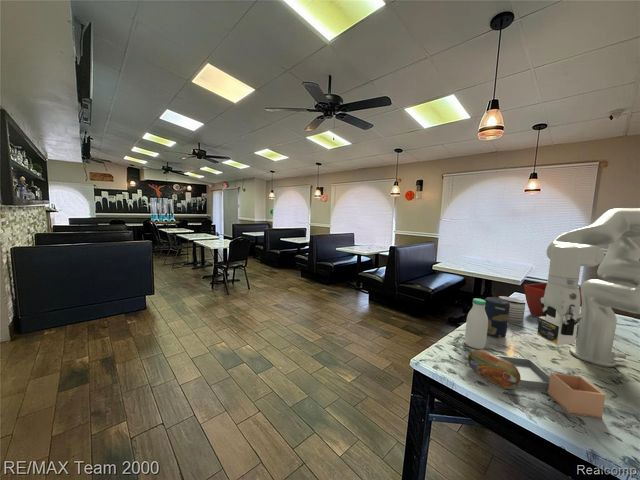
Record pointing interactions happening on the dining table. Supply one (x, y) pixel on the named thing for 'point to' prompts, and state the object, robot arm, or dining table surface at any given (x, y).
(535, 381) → the grey square tray
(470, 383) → the dining table surface
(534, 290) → the plant pot
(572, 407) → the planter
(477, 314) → the milk bottle
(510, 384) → the tin
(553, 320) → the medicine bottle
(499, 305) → the canister
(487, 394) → the dining table surface
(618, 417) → the dining table surface
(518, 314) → the can
